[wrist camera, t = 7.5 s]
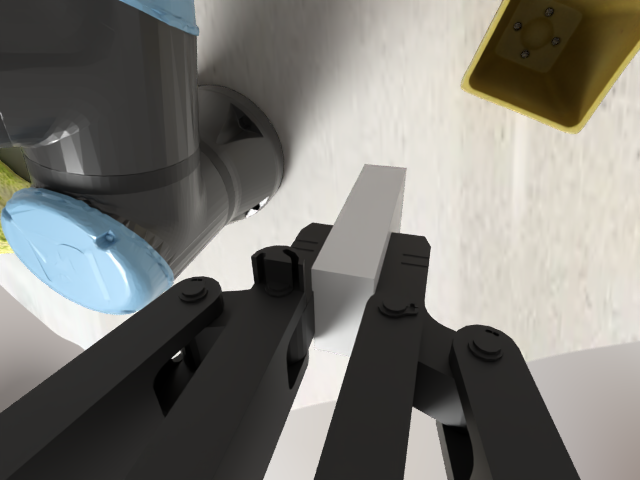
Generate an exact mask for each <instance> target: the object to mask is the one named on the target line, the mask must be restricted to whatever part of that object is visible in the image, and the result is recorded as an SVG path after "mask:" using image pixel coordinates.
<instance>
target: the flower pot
mask: <svg viewBox="0 0 640 480" xmlns="http://www.w3.org/2000/svg"><path fill="white" fill-rule="evenodd" d="M548 8H552V9H553V14H552V15H551V16H546V15H545V11H546V10H547V9H548ZM517 22H520V23H521V25H522V26H521V28H520V29H519V30H515V29H514V25H515V23H517ZM555 37H557V38H559V43H558V44H557V45H553V44H552V40H553V39H554V38H555ZM639 50H640V0H503V1H502V3H501V5H500V7H499V8H498V10H497V12H496V14H495V16H494V18H493V20H492V22H491V24H490V26H489V28H488V30H487V32H486V34H485V36H484V38H483V40H482V42H481V44H480V45H479V47H478V49H477V51H476V53H475V55H474V57H473V59H472V61H471V63H470V65H469V67H468V69H467V71H466V73H465V74H464V77H463V79H462V81H461V89H462V90H464V91H465V92H467V93H469V94H472V95H474V96H477V97H479V98H482V99H484V100H487V101H490V102H492V103H495V104H497V105H500V106H502V107H505V108H507V109H510V110H512V111H515V112H517V113H520V114H522V115H524V116H527V117H529V118H532V119H534V120H537V121H539V122H541V123H543V124H546V125H548V126H550V127H553V128H555V129H557V130H560V131H563V132H565V133H569V134H577V133H579V132H580V131H581V130H582V129H583V127H584V126H585V125H586V123H587V122H588V120H589V119H590V118H591V116H592V115H593V113H594V112H595V110H596V109H597V107H598V106H599V104H600V103H601V102H602V100H603V99H604V97H605V96H606V95H607V93H608V92H609V90H610V89H611V87H612V86H613V84H614V83H615V82H616V80H617V79H618V77H619V76H620V75H621V73H622V72H623V71H624V69H625V68H626V67H627V65H628V64H629V63H630V61H631V60H632V59H633V58H634V56H635V55H636V54H637V52H638V51H639ZM523 51H528V52H529V54H528V56H527V57H526V58H523V57H522V56H521V53H522V52H523Z"/></svg>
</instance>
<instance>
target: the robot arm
mask: <svg viewBox="0 0 640 480" xmlns="http://www.w3.org/2000/svg"><path fill="white" fill-rule="evenodd" d="M197 36H199V28H198V26H197V25H196V19H195V8H194V0H0V148H7V147H21V150H22V152H23V155H24V159H25V162H26V166H27V170H28V173H29V176H30V180H31V186H30V188H23V189H21V190H19V191H16V192H15V193H14V194H13V196H12V198H11V199H10V200H8V201H7V203H6V206H5V207H4V208H3V209H2V211H1V218H0V219H1V226H2V230H3V233H4V235H5V238H6V240H7V242H8V244H9V245H10V247H11V248H12V250H13V251H14V253H15V254H16V255H17V257H18V258H19V259H20V260H21V261H22V262H23V264H24V265H25V266H26V267H27V268H28V269H29V270H30V271H31V272H32V273H33V274H34V275H35V276H36V277H37V278H38V279H40V280H41V281H42V282H44V283H45V284H46V285H48V286H49V287H50V288H51V289H53V290H54V291H56V292H57V293H59V294H60V295H62V296H63V297H65V298H67V299H69V300H71V301H72V302H74V303H76V304H79V305H81V306H83V307H86V308H88V309H91V310H94V311H98V312H102V313H106V314H114V315H124V314H130V313H134V312H136V311H138V310H140V311H138V312H137V313H136V314H134V315H133V316H131V317H130V318H129V319H127V320H126V321H125V322H123V323H122V324H121V325H119V326H118V327H117V328H115V329H114V330H112V331H111V332H110V333H108V334H107V335H106V336H104V337H103V338H102V339H100V340H99V341H98V342H96V343H95V344H93V345H92V346H91V347H89V348H88V349H87V350H85V351H84V352H83V353H81V354H80V355H79V356H77V357H76V358H74V359H73V360H72V361H70V362H69V363H68V364H66V365H65V366H64V367H62V368H61V369H60V370H58V371H57V372H56V373H54V374H53V375H51V376H50V377H49V378H48V379H46V380H45V381H43V382H42V383H41V384H39V385H38V386H37V387H35V388H34V389H32V390H31V391H30V392H29V393H27V394H26V395H24V396H23V397H22V398H20V399H19V400H18V401H16V402H15V403H13V404H12V405H11V406H10V407H8V408H7V409H5V410H4V411H3V412H1V413H0V480H263V478H264V476H265V473H266V471H267V468H268V465H269V463H270V460H271V458H272V455H273V453H274V450H275V448H276V445H277V442H278V440H279V437H280V435H281V432H282V430H283V427H284V425H285V422H286V419H287V417H288V414H289V412H290V409H291V407H292V404H293V402H294V399H295V397H296V394H297V391H298V389H299V386H300V384H301V381H302V379H303V376H304V374H305V371H306V369H307V366H308V360H309V351H308V349H309V346H310V344H311V341H312V339H313V337H314V349H315V350H320V351H325V352H330V353H334V354H339V355H344V356H348V357H350V360H349V363H348V366H347V370H346V373H345V376H344V380H343V383H342V386H341V390H340V393H339V396H338V400H337V403H336V407H335V410H334V413H333V417H332V420H331V423H330V427H329V430H328V433H327V437H326V440H325V444H324V447H323V450H322V454H321V457H320V460H319V464H318V467H317V470H316V474H315V477H314V480H403V479H404V470H405V463H406V454H407V445H408V438H409V429H410V420H411V412H412V406H413V407H414V408H416V409H418V410H420V411H422V412H424V413H425V414H427V415H429V416H431V417H432V418H434V419H436V426H437V430H438V435H439V440H440V444H441V450H442V455H443V459H444V464H445V469H446V474H447V479H448V480H581V479H580V477H579V476H578V473H577V471H576V469H575V467H574V465H573V462H572V460H571V458H570V456H569V454H568V452H567V450H566V448H565V445H564V443H563V441H562V439H561V437H560V435H559V433H558V430H557V428H556V426H555V424H554V422H553V420H552V418H551V416H550V413H549V411H548V409H547V407H546V405H545V403H544V401H543V399H542V397H541V395H540V392H539V390H538V388H537V386H536V384H535V381H534V380H533V377H532V375H531V373H530V371H529V369H528V367H527V364H526V362H525V360H524V358H523V356H522V354H521V352H520V350H519V348H518V346H517V345H516V344H515V342H514V341H513V339H511V338H510V337H509V336H507V335H506V334H505V333H503V332H502V331H500V330H497V329H495V328H492V327H490V326H484V325H469V326H465V327H463V328H461V329H459V330H458V331H457V332H456V331H454V330H452V329H449V328H447V327H445V326H443V325H441V324H440V323H438V322H437V321H436V320H434V319H433V318H432V317H431V316H430V315H429V313H428V312H427V310H426V308H425V301H424V300H425V292H426V283H427V275H428V266H429V258H430V250H431V246H430V245H429V243H428V241H427V239H426V238H425V237H424V236H417V235H409V234H402V233H400V225H401V216H402V206H403V197H404V187H405V177H406V168H400V167H390V166H379V165H369V164H365V165H364V167H363V169H362V171H361V173H360V175H359V177H358V179H357V181H356V182H355V184H354V186H353V188H352V190H351V192H350V194H349V196H348V198H347V200H346V202H345V204H344V206H343V208H342V210H341V212H340V214H339V216H338V218H337V220H336V222H335V223H334V225H326V224H319V223H311V224H310V225H308V226H306V227H305V228H303V229H302V230H301V231H300V233H299V234H298V236H297V237H296V239H295V241H294V242H293V244H292V245H291V247H289V246H277V245H276V246H270V247H266V248H263V249H261V250H259V251H257V252H256V253H255V254H253V255H252V256H251V260H252V267H253V275H254V283H255V284H254V285H253V287H252V288H251V289H249V290H242V291H224V292H222V290H221V287H220V285H219V282H217V281H216V280H214V279H213V278H209V277H204V276H202V277H192V278H188V279H185V280H182V281H180V282H179V283H177V284H175V285H174V286H172V284H173V283H174V282H173V281H174V280H175V279H176V278H177V277H178V276H179V275H180V274H181V272H182V271H183V270H184V269H185V268H186V267H187V266H188V265H189V264H190V263H191V262H192V261H193V260H194V258H195V257H196V256H197V255H198V254H199V253H200V252H201V251H202V250H203V249H204V248H205V247H206V246H207V244H208V243H209V242H210V241H211V240H212V239H213V238H214V237H215V236H216V235H217V234H218V233H219V231H220V230H221V229H222V228H223V227H224V226H225V225H228V224H231V223H234V222H236V221H239V220H242V219H244V218H247V217H249V216H252V215H254V214H255V213H257V212H258V211H260V210H261V209H262V208H263V207H264V206H265V205H266V204H267V203H268V202H269V201H270V199H271V198H272V197H273V196H274V195H275V193H276V192H277V190H278V188H279V186H280V183H281V180H282V176H283V169H284V159H283V152H282V147H281V144H280V141H279V138H278V136H277V133H276V131H275V129H274V127H273V126H272V124H271V123H270V121H269V120H268V118H267V117H266V116H265V114H264V113H263V112H262V111H261V110H260V109H259V108H258V107H257V106H256V105H255V104H254V103H253V102H251V101H250V100H249V99H247V98H246V97H245V96H243V95H241V94H239V93H237V92H236V91H233V90H231V89H228V88H225V87H221V86H215V85H202V86H198V79H197ZM171 286H172V287H171ZM170 287H171V288H170ZM164 291H165V292H164ZM163 292H164V293H163ZM162 293H163V294H162ZM158 296H159V297H158ZM179 351H181V353H180V354H179V355H178V356H177V357H175V358H173V359H171V358H172V357H173V356H174V355H175V354H176V353H178V352H179Z"/></svg>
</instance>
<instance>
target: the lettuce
mask: <svg viewBox="0 0 640 480" xmlns="http://www.w3.org/2000/svg"><path fill="white" fill-rule="evenodd" d="M30 186H31V183H29V182H27V181H26V180H24V179H23V178H21V177H20V176H18V175H17V174H15V173H14V172H13V171H12V170H11V169H10V168H9V167H8V166H7V165H6V164H4V163H3V162H1V161H0V218H1V211H2V209H3V208H4V207H5V206H6V203H7V201H8V200H10V199H11V198H12V196H13V194H14V193H15V192H16V191H19V190H21V189H23V188H30ZM1 253H14V251H13V250H12V248H11V247H10V245H9V244H8V242H7V240H6V238H5V235H4V233H3V230H2V226H1V219H0V254H1Z"/></svg>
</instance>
